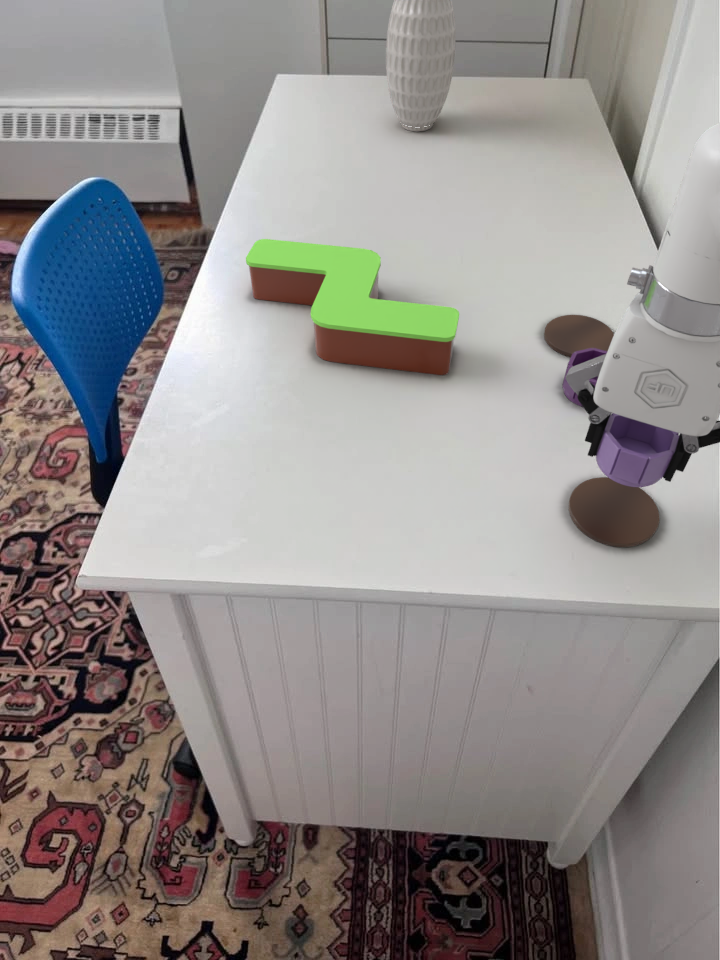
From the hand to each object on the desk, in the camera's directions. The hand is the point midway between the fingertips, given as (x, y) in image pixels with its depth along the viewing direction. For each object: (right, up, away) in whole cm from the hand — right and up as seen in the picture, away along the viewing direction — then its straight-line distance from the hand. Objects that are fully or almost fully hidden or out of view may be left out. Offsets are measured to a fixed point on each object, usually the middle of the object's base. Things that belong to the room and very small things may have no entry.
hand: (631, 457), depth 68 cm
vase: (-15, +68, +74) cm, 101 cm away
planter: (-28, +19, +29) cm, 44 cm away
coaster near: (0, -6, +6) cm, 8 cm away
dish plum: (+2, +9, +19) cm, 21 cm away
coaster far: (+3, +17, +26) cm, 31 cm away
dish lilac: (0, 0, 0) cm, 1 cm away
